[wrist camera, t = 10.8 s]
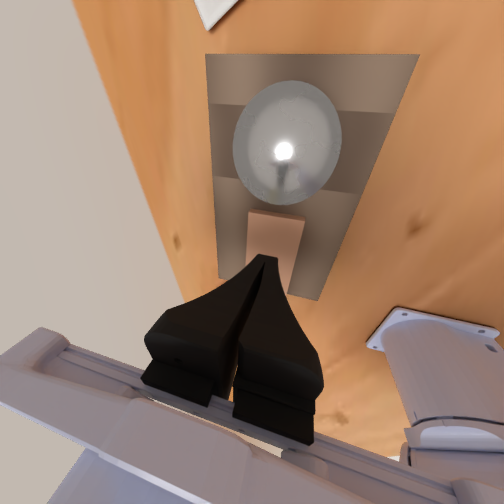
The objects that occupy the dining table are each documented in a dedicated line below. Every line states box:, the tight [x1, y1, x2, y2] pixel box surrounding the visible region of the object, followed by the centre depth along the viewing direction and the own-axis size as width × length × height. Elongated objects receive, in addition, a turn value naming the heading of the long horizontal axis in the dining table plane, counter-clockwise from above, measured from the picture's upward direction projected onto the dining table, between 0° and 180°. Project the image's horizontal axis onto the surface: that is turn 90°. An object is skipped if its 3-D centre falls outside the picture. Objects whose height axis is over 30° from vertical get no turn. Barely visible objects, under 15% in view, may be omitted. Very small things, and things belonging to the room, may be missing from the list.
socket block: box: [205, 54, 420, 301], centre depth 15 cm, size 10×16×4 cm, turn 176°
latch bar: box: [245, 209, 305, 296], centre depth 15 cm, size 8×4×1 cm, turn 176°
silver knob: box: [233, 80, 342, 205], centre depth 11 cm, size 5×5×6 cm
